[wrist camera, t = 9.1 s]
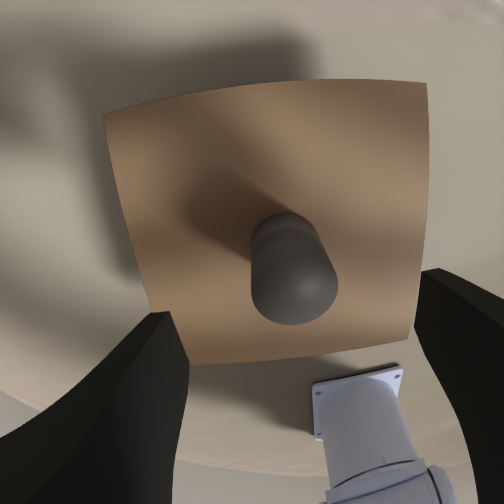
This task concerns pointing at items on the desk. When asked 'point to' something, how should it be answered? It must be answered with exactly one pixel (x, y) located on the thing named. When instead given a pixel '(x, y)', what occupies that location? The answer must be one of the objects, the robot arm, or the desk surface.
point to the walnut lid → (278, 213)
